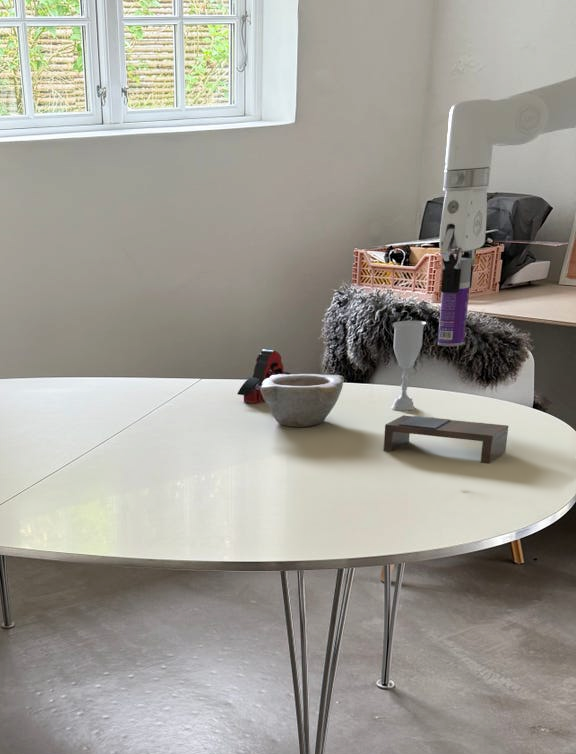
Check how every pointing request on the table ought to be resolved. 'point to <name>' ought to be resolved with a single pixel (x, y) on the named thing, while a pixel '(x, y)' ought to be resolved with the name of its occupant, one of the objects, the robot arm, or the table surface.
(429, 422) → the shelf
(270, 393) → the mortar
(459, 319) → the container
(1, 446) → the table surface
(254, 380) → the red black angled piece
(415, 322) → the chalice
